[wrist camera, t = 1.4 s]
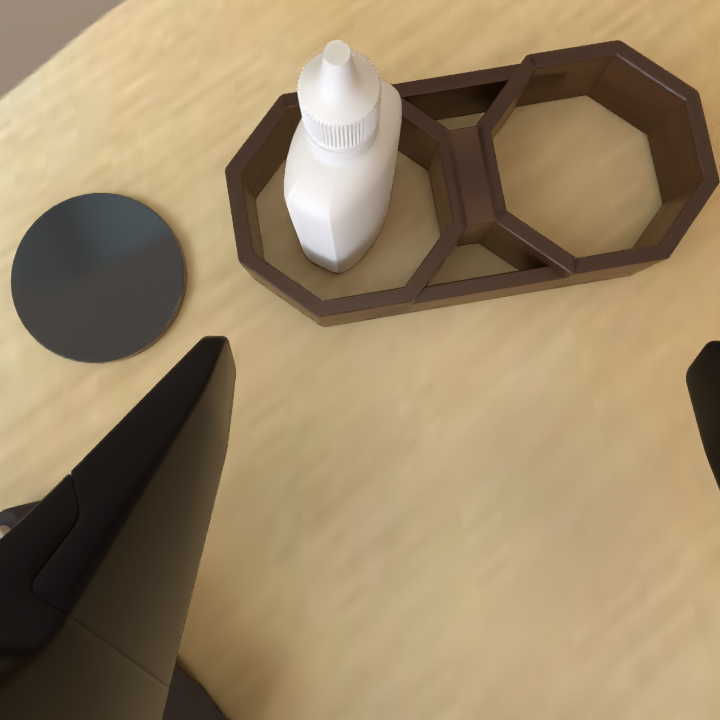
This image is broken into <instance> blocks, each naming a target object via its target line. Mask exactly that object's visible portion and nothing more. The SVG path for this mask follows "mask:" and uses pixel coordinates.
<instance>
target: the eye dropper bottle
mask: <svg viewBox="0 0 720 720" xmlns="http://www.w3.org/2000/svg"><path fill="white" fill-rule="evenodd" d="M371 63H372V62H370V61H369V60H368V59H367V58H365V56H363V55H362V54H360V53H358V52H355V51H354V50H350V48H349V46H348V45H347V44H346V43H345V42H343V41H340V40H334V41H331V42H329V43H328V44H327V45H326V46H325V48H324V51H323V52H321V53H319V54H317V55H316V56H314V57H312V59H311V60H309V62H308V63H306V65H305V66H304V69H303V70H302V73H301V74H300V77H299V78H298V79H299V81H298V86H297V89H298V90H297V93H298V99H299V104H300V109H301V114H302V118H301V120H300V122H299V124H298V126H297V129H296V131H295V134H294V136H293V139H292V142H291V145H290V148H289V152H288V156H287V161H286V168H285V176H284V197H285V200H286V204H287V207H288V210H289V213H290V217H291V219H292V222H293V225H294V227H295V230H296V233H297V236H298V238H299V241H300V244H301V246H302V249H303V251H304V254H305V256H306V257H307V258H308V259H309V260H310V261H312V262H314V263H316V264H318V265H320V266H321V267H323V268H325V269H327V270H330V271H332V272H335V273H342V272H345V271H347V270H348V269H349V268H351V267H352V266H353V265H354V264H356V263H357V262H358V261H359V260H360V259H361V258H362V257H363V256H364V254H365V253H366V252H367V251H368V250H369V248H370V247H371V246H372V244H373V243H374V241H375V240H376V238H377V236H378V234H379V232H380V230H381V228H382V226H383V224H384V221H385V218H386V215H387V212H388V208H389V203H390V198H391V191H392V185H393V178H394V171H395V165H396V158H397V151H398V144H399V137H400V129H401V119H402V103H401V98H400V95H399V93H398V91H397V90H396V89H395V88H394V87H393V86H392V85H390V84H389V83H387V82H386V81H384V80H382V79H380V77H379V75H378V72H377V71H376V68H374V65H373V64H371Z"/></svg>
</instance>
